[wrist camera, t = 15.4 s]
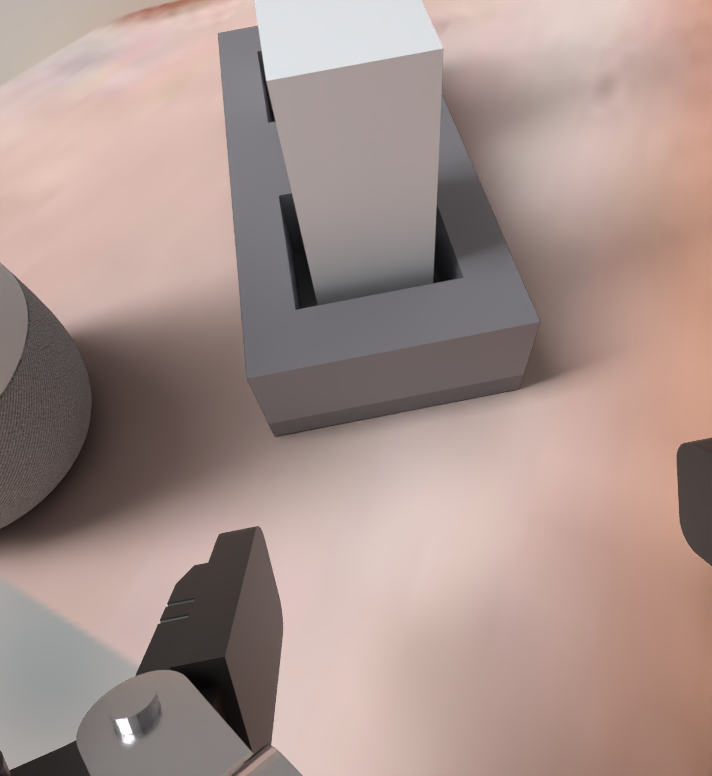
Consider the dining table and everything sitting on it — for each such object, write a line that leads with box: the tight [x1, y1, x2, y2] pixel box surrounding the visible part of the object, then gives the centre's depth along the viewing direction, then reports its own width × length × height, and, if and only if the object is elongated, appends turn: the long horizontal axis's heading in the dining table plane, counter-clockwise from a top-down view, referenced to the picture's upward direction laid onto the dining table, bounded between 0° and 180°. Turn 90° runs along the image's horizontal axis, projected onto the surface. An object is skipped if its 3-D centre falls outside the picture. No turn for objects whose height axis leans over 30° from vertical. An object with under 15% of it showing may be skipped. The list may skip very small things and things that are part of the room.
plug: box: [254, 0, 444, 305], centre depth 18 cm, size 4×4×10 cm
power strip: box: [218, 26, 540, 436], centre depth 21 cm, size 9×20×11 cm, turn 10°
